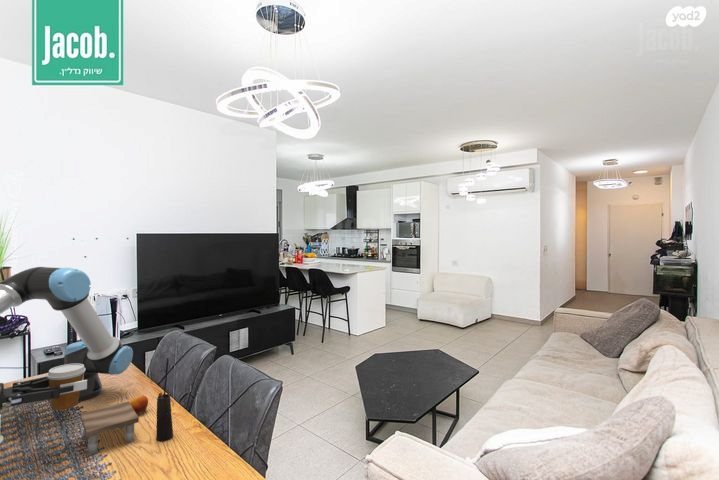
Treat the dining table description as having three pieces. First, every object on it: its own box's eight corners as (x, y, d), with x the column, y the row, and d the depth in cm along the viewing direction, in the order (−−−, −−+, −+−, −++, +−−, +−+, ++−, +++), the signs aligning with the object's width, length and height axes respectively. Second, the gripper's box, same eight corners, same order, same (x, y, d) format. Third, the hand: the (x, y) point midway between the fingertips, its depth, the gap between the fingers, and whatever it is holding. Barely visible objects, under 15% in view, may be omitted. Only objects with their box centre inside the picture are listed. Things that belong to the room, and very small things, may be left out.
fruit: (140, 416, 131) (132, 397, 132) (125, 425, 133) (116, 405, 134) (157, 407, 139) (148, 388, 140) (142, 415, 141) (134, 396, 142)
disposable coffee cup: (91, 402, 113) (92, 365, 114) (57, 415, 104) (59, 375, 105) (71, 397, 117) (73, 361, 117) (37, 409, 108) (39, 370, 108)
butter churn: (145, 434, 122) (148, 354, 122) (175, 427, 128) (178, 350, 128) (148, 447, 115) (151, 362, 115) (180, 438, 120) (183, 357, 121)
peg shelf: (79, 436, 120) (80, 413, 120) (127, 422, 129) (128, 401, 130) (85, 457, 108) (86, 432, 108) (137, 441, 118) (138, 417, 118)
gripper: (-15, 400, 106) (80, 381, 121) (-21, 428, 91) (88, 402, 106) (-14, 375, 106) (81, 360, 122) (-20, 399, 91) (89, 378, 106)
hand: (85, 380), depth 114 cm, fingers closed on disposable coffee cup, 8 cm apart
